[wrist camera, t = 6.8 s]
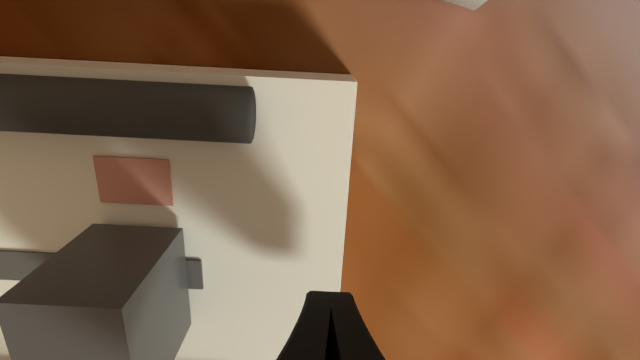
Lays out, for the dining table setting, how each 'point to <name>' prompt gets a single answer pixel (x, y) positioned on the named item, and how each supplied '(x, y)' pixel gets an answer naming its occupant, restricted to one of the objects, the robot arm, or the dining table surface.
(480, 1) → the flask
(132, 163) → the panel
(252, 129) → the dark grey guard rails
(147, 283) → the block
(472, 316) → the dining table surface
